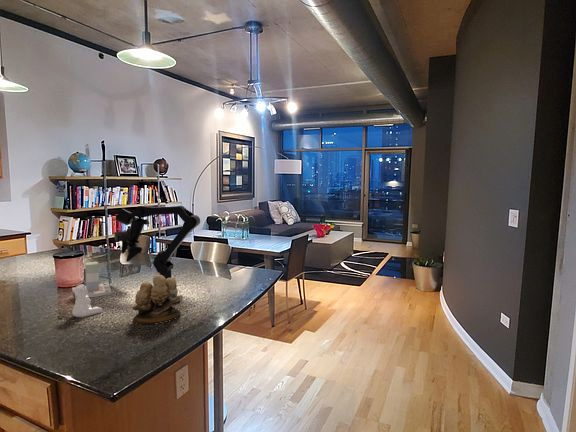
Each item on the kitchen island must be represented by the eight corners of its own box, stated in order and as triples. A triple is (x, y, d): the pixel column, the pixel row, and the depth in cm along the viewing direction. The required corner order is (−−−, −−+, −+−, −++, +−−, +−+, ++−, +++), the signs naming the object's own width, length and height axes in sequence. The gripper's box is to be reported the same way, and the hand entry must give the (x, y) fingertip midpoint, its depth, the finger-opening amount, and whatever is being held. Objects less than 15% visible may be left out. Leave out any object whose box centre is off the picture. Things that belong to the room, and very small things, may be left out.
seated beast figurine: (103, 312, 138) (102, 282, 137) (85, 320, 130) (84, 288, 128) (83, 309, 140) (82, 279, 139) (64, 317, 132) (63, 285, 131)
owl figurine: (179, 309, 143) (179, 267, 141) (186, 319, 133) (186, 275, 131) (130, 316, 134) (130, 272, 132) (135, 328, 124) (134, 281, 122)
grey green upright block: (98, 286, 164) (97, 261, 163) (99, 289, 160) (98, 263, 159) (86, 288, 162) (85, 262, 160) (86, 291, 157) (85, 265, 156)
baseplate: (108, 285, 170) (108, 282, 170) (111, 294, 159) (111, 290, 158) (75, 289, 163) (74, 285, 163) (75, 299, 151) (74, 294, 151)
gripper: (114, 218, 176) (103, 246, 178) (124, 233, 163) (112, 263, 165) (136, 223, 184) (125, 250, 186) (147, 237, 171) (136, 266, 172)
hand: (124, 257), depth 177 cm, fingers open, 9 cm apart
